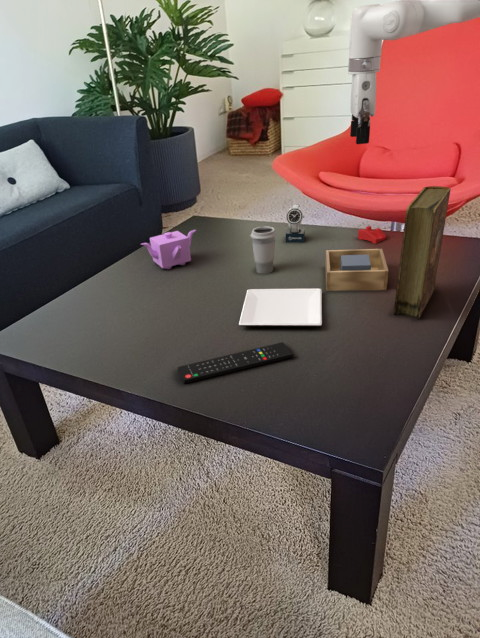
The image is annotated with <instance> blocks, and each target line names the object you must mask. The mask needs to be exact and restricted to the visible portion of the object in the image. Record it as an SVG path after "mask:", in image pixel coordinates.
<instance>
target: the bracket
mask: <svg viewBox="0 0 480 638" xmlns="http://www.w3.org/2000/svg"><path fill="white" fill-rule="evenodd" d="M357 233H358V234H357V240H361V241H362V240H364V241H368V242H371V243H372V244H375V245H377V244H378V243H380V242H382V241H385V240H386V239H387V236H386V233H385V232H384V231H383V230H382V229H381V228H380V227H376V228H374V230H373V229H372V226H371V225H367V226H366V227H365V229H363V228H360V229H358V232H357Z"/></svg>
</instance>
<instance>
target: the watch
mask: <svg viewBox="0 0 480 638" xmlns="http://www.w3.org/2000/svg"><path fill="white" fill-rule="evenodd" d="M285 219H286V221H287V224H288V227H289V228H286V231H285V243H286V244H287V243H289V244H290V243H293V244H294V243H295V244H296V243H298V244H299V243H300V244H301V243H304V242H305V238H306V229H305V228H300V226H301V224H302V221H303V219H305V215H303V212H302V209H301V207H300V204H291V206H290V207H289V209H288V211H287V213H286V215H285Z"/></svg>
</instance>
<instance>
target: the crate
mask: <svg viewBox="0 0 480 638" xmlns="http://www.w3.org/2000/svg"><path fill="white" fill-rule="evenodd" d="M341 255H369V259H370V263H371V270H357V271H340V263H341ZM324 269H325V291H327V292H333V291H334V292H337V291H338V292H339V291H340V292H341V291H342V292H343V291H346V292H347V291H387V290H388V283H389V282H388V279H389V273H390V272H389V267H388V263H387V261H386V257H385V254H384V250H383V248H362V249H360V248H358V249H357V248H356V249H329V250H328V249H327V250H325V263H324Z"/></svg>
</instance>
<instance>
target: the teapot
mask: <svg viewBox="0 0 480 638" xmlns="http://www.w3.org/2000/svg"><path fill="white" fill-rule="evenodd" d="M196 231H197V229H192V230H190V231H189V232H188V233H187V235H185V234H183V233H182V232H181V231H179V230H174V231H167V232H165V233H163V234H158V235H155V236H151V237H149V243H148V242H142V243H140V245H141V246H143V247H145V248H146V249H147V251H148V253H149V255H150V256H151V257H152V261H153V262H154V263H156V265H158V266H159V267H160V268H161V269H165V270H170V269H172V267H173V266H177V265H179V266H185V265H186V263H188V262H191V261H192V257H191V245H192V238H193V234H194V233H195V232H196Z"/></svg>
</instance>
